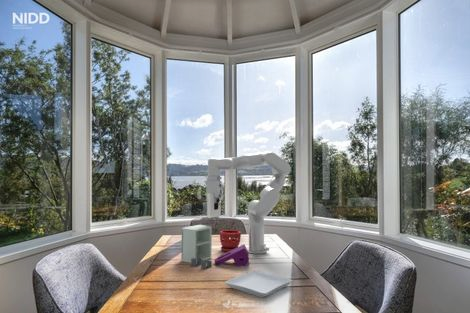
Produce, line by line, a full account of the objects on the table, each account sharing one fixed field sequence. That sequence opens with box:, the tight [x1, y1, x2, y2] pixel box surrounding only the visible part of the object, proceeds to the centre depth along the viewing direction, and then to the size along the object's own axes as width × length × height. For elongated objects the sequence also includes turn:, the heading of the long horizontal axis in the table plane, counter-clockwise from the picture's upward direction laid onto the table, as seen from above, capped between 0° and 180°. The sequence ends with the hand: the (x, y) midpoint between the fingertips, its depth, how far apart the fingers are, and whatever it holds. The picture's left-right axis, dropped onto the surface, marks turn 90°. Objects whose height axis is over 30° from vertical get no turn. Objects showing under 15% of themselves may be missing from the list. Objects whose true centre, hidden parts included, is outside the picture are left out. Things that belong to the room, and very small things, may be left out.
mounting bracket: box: [214, 243, 250, 267], centre depth 169 cm, size 9×8×18 cm
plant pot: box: [219, 229, 242, 253], centre depth 198 cm, size 13×13×12 cm
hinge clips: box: [190, 258, 213, 270], centre depth 164 cm, size 9×5×4 cm, turn 55°
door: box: [206, 193, 222, 219], centre depth 189 cm, size 10×3×14 cm, turn 144°
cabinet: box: [180, 224, 213, 264], centre depth 177 cm, size 10×14×18 cm
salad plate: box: [224, 270, 293, 298], centre depth 134 cm, size 21×21×3 cm
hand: (214, 209), depth 189 cm, fingers closed on door, 2 cm apart
